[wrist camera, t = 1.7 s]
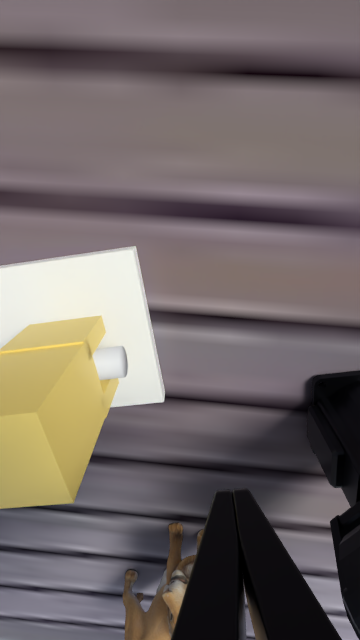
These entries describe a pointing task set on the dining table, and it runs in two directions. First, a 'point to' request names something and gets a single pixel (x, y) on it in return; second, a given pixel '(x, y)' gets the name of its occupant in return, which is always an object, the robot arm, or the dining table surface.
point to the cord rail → (90, 313)
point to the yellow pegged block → (50, 410)
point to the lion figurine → (159, 594)
